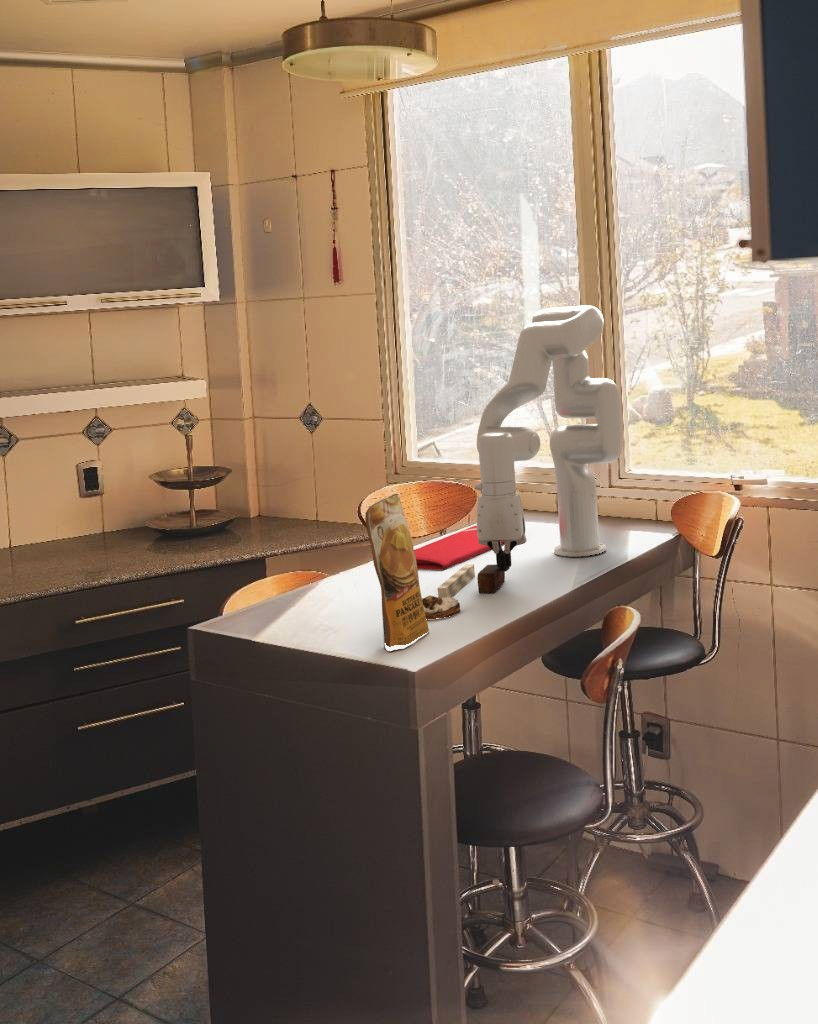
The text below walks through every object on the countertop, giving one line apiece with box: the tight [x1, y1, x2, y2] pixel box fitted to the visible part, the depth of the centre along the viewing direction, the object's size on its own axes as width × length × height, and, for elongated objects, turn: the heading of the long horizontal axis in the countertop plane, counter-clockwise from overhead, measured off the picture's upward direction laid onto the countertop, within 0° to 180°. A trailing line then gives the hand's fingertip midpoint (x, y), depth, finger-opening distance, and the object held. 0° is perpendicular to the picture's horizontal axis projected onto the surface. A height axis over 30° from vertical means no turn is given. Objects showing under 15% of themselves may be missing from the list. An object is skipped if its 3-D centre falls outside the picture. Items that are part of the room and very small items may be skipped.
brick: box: [476, 564, 506, 594], centre depth 269 cm, size 11×4×5 cm, turn 163°
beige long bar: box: [437, 563, 476, 598], centre depth 270 cm, size 22×2×3 cm, turn 161°
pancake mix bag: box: [364, 493, 430, 647], centre depth 231 cm, size 7×19×28 cm, turn 155°
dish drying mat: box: [414, 524, 505, 571], centre depth 311 cm, size 16×41×4 cm, turn 145°
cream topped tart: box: [422, 595, 461, 621], centre depth 252 cm, size 15×15×4 cm
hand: (504, 569), depth 267 cm, fingers closed
